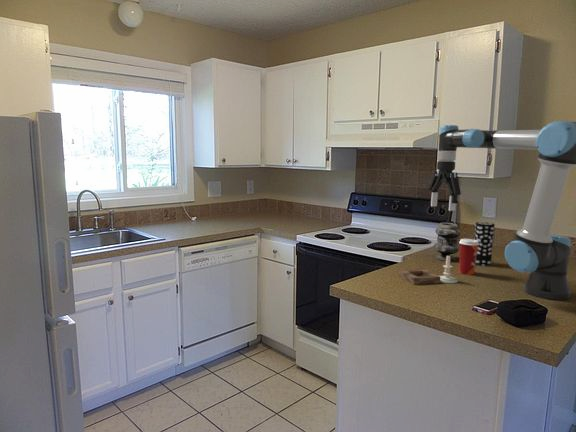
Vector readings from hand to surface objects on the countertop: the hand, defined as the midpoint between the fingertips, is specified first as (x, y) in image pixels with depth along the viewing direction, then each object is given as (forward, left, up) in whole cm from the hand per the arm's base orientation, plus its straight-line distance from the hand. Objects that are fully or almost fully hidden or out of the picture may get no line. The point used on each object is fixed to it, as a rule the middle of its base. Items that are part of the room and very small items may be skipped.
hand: (442, 208), depth 187 cm
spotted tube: (+6, -28, -29) cm, 40 cm away
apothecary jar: (+18, -16, -29) cm, 37 cm away
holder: (-12, +17, -28) cm, 35 cm away
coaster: (-15, +6, -29) cm, 33 cm away
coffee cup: (-7, -10, -29) cm, 31 cm away
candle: (-15, +6, -28) cm, 32 cm away
